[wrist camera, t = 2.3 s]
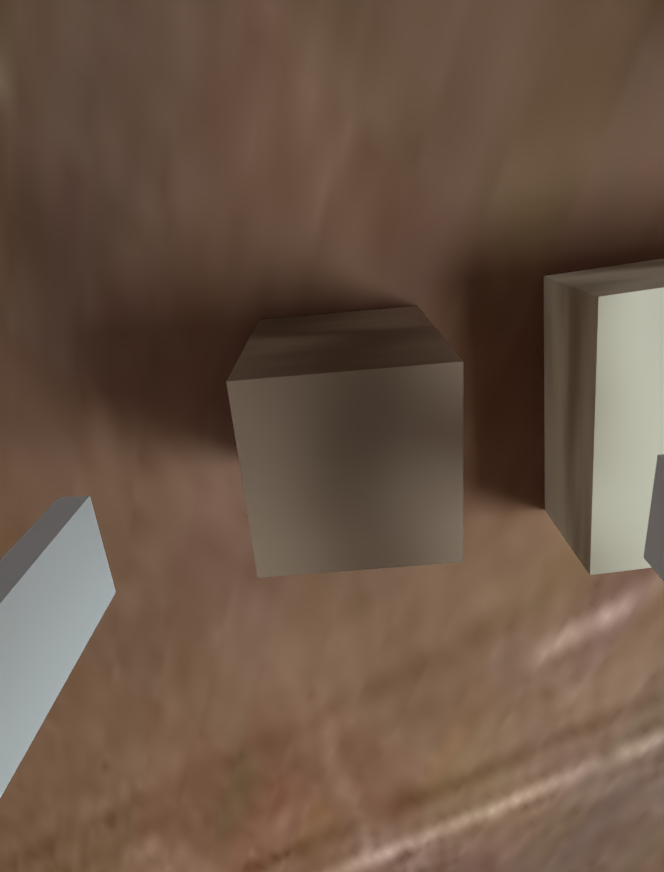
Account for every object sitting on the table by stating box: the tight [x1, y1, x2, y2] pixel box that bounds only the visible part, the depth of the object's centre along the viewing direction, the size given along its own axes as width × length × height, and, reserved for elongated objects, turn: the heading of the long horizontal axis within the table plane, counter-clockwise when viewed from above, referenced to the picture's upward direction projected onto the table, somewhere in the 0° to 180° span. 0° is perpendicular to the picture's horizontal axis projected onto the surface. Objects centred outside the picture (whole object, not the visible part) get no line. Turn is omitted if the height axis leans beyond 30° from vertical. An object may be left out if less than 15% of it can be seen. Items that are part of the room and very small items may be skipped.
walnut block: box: [226, 306, 463, 578], centre depth 20 cm, size 6×6×8 cm
